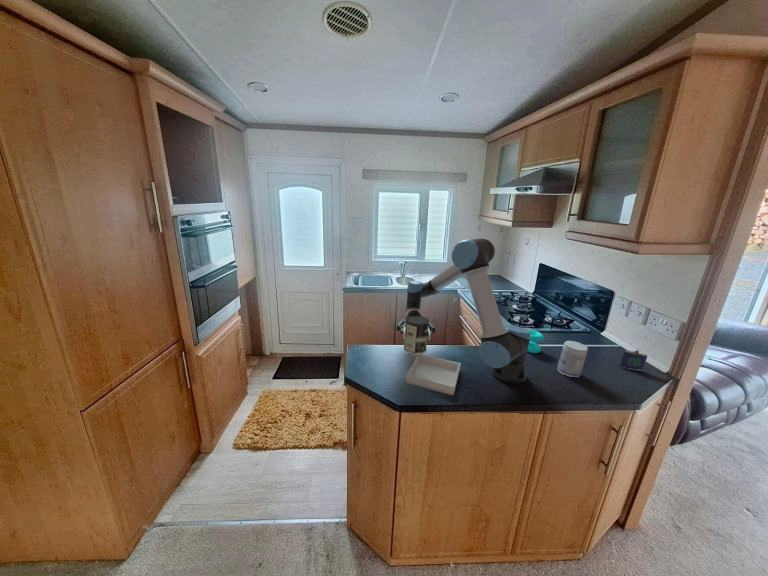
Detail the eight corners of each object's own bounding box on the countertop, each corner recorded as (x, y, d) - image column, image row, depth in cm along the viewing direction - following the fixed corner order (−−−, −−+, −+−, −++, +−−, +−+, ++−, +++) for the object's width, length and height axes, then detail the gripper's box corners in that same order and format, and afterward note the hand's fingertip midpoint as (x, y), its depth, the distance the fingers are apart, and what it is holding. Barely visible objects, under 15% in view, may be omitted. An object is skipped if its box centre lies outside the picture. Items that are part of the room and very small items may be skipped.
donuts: (548, 336, 153) (532, 337, 151) (544, 353, 156) (529, 354, 154) (534, 328, 162) (519, 329, 160) (531, 344, 165) (516, 346, 163)
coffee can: (426, 345, 135) (429, 316, 131) (425, 355, 125) (428, 325, 121) (404, 342, 137) (406, 314, 133) (401, 352, 127) (404, 322, 123)
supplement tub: (552, 367, 143) (559, 339, 139) (572, 368, 143) (579, 340, 139) (564, 378, 134) (571, 349, 129) (585, 379, 134) (593, 350, 129)
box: (459, 370, 135) (460, 363, 134) (453, 395, 117) (454, 387, 116) (417, 360, 142) (418, 353, 141) (405, 383, 124) (406, 374, 123)
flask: (641, 370, 144) (647, 350, 141) (643, 373, 142) (650, 353, 139) (618, 365, 148) (624, 346, 145) (620, 368, 145) (626, 349, 142)
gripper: (435, 325, 147) (442, 346, 125) (391, 322, 147) (390, 342, 126) (437, 311, 145) (444, 330, 123) (391, 308, 145) (391, 326, 124)
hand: (417, 336), depth 125 cm, fingers closed on coffee can, 10 cm apart
